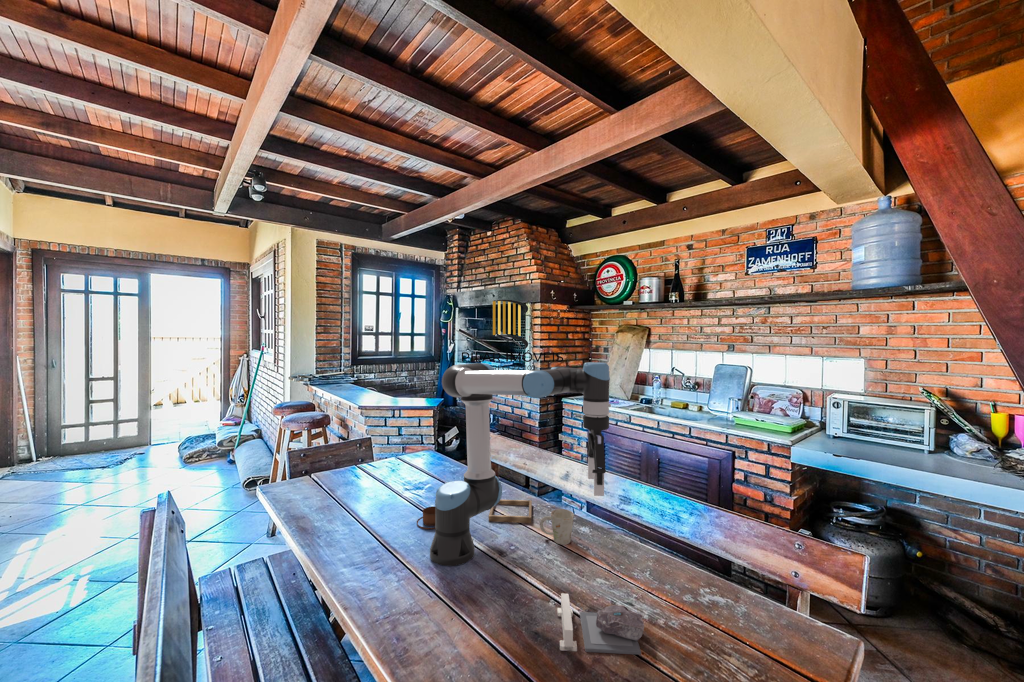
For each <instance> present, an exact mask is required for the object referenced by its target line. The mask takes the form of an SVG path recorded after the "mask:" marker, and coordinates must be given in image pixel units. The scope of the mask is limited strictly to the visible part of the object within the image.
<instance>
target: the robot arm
mask: <svg viewBox="0 0 1024 682" xmlns="http://www.w3.org/2000/svg"><path fill="white" fill-rule="evenodd" d="M610 380H611V377H610V366H609V364H608V363H606V362H598V361H597V362H595V361H594V362H593V361H591V362H589V361H588V362H584V363H583V367H580V368H578V367H577V368H575V367H565V366H554V367H551V368H550V369H538V370H537V369H534V370H533V369H532V370H531V369H530V370H529V369H527V370H525V369H524V370H522V369H521V370H519V369H517V370H514V369H513V370H511V369H510V370H507V369H506V370H495V368H494V367H493V366H492V365H490V364H488V363H485V362H474V363H473V362H472V363H465V364H463V363H462V364H454V365H452V366H450V367H449V368H447V369H446V370H445V371H444V373H443V375H442V377H441V386H442V388H443V390H444V391H445V393H446V394H447V395H448V396H450V397H453V398H460V399H461V402H462V403H463V404H464V405H465V423H466V425H465V426H466V427H465V429H466V455H467V456H466V458H467V460H466V461H467V469H466V471H465V472H464V473H463V480H454V481H448V482H445V483H442V484H441V485H440V486H439V487H438V488H437V490H436V492H435V499H434V506H435V526H434V528H435V529H434V531H435V533H434V536H433V539H432V541H431V546H430V548H429V559H430V560H431V561H432V562H433V563H434V564H436V565H440V566H444V567H456V566H460V565H464V564H466V563H469V561H471V560H473V558H474V556H475V555H476V554H475V551H476V550H475V549H476V547H475V544H474V539H473V537H472V534H471V533H472V532H471V531H470V529H471V527H470V526H471V524H470V523H471V521H470V519H471V518H473V517H475V516H478V515H479V514H481V513H484V512H485V511H490V509H491V508H492V507H494V506H495V507H496V506H497V505H499V504H498V502H499V501H500V499H501V500H502V495H503V486H502V483H501V482H500V479H499V477H498V476H496V472H495V471H494V470H493V468H492V462H491V461H492V460H491V431H490V430H491V429H490V403H491V402H492V401H493V396H495V395H499V396H500V395H501V396H502V395H503V396H524V397H525V396H528V397H531V398H533V399H537V398H539V399H541V398H542V399H543V398H546V397H549V396H554V395H560V394H564V393H565V394H566V393H576V394H582V395H583V397H582V398H583V399H582V412H583V418H582V422H583V423H582V427H583V428H584V429H586V430H588V433H587V434H588V440H587V450H586V452H587V457H588V458H587V479H588V480H593V496H594V497H605V474H606V472H607V470H606V458H605V456H606V455H605V437H604V435H603V433H602V431H607V430H609V429H610V416H609V414H610V408H611V407H612V404H611V403H610ZM495 507H494V508H495Z"/></svg>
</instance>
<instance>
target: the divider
mask: <svg viewBox="0 0 1024 682" xmlns="http://www.w3.org/2000/svg"><path fill="white" fill-rule="evenodd" d="M570 603H571V602H570V596H569V593H564V592H562V593H560V607H557V608H556V609H557V610H556V611H557V617H561V628H562V638H563V640H562V639H561V640H559V650H560V651H561V652H562V651H567V652H578V645H577V640H574V638H573V637H574V626H573V621H572V620H573V619H572V618H573V615H574V612H573V608H571V604H570Z"/></svg>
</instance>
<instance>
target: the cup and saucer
mask: <svg viewBox="0 0 1024 682" xmlns="http://www.w3.org/2000/svg"><path fill="white" fill-rule="evenodd" d="M420 520H422V523H423V524H424V525H425V526H427V527H424V526H420V525H419V522H420ZM416 525H417V527H418V528H421V529H423V530H435V505H434V506H428V507H425V508H423V509H422V516H421V517H419V518H418V519H417V520H416Z"/></svg>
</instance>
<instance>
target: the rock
mask: <svg viewBox="0 0 1024 682" xmlns="http://www.w3.org/2000/svg"><path fill="white" fill-rule="evenodd" d="M596 613H597V619H596V626H597V627H598V628H599V629H601V630H603V631H604V633H608V634H615V635H617V636H621V637H623V638H628V639H632V640H636V641H639V640H640V639H641V637H642V636H643V634H644V629H645V624H644V623H645V622H644V620H643V615H642V614H640V613H637V612H634V611H631V610H629V608H628V607H627V606H625V605H622V604H621V605H620V604H613V605H609V606H605V607H604V608H602V609H601V610H597V612H596Z"/></svg>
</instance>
